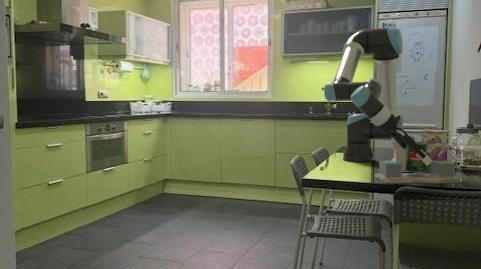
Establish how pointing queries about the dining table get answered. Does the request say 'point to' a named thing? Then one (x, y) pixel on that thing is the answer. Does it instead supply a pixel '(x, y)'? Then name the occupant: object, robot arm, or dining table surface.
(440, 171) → the module
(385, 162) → the block
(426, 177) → the tan flat panel
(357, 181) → the dining table surface
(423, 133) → the candy bar box
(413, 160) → the canned tomato
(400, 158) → the circuit breaker
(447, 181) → the board
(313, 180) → the dining table surface
